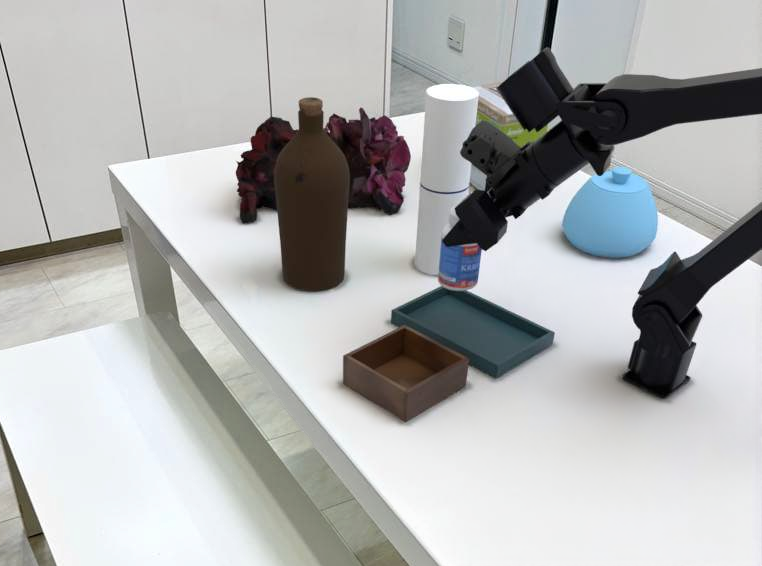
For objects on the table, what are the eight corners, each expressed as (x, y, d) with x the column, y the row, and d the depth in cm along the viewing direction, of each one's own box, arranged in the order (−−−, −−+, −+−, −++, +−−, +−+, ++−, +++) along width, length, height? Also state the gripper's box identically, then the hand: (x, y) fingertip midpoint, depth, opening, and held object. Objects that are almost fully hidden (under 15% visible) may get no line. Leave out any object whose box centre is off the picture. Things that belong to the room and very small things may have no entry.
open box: (465, 386, 111) (469, 358, 108) (405, 422, 105) (407, 393, 102) (402, 352, 116) (404, 324, 113) (342, 383, 111) (342, 355, 108)
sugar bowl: (543, 228, 145) (555, 157, 137) (619, 216, 149) (635, 146, 141) (590, 267, 135) (607, 194, 127) (671, 253, 139) (692, 181, 131)
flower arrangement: (247, 234, 141) (240, 138, 131) (223, 187, 155) (215, 97, 144) (424, 213, 148) (431, 121, 138) (387, 170, 162) (391, 83, 151)
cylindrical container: (407, 268, 134) (417, 95, 116) (426, 250, 138) (439, 80, 121) (449, 279, 131) (466, 104, 114) (467, 260, 136) (486, 89, 119)
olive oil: (355, 290, 129) (359, 111, 111) (285, 297, 127) (278, 117, 109) (339, 257, 136) (340, 85, 118) (273, 264, 134) (264, 90, 116)
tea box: (449, 171, 162) (457, 86, 152) (495, 163, 165) (506, 79, 155) (491, 202, 152) (502, 113, 142) (539, 193, 155) (553, 105, 145)
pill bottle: (462, 296, 114) (469, 224, 107) (429, 283, 116) (434, 212, 110) (485, 281, 117) (494, 210, 110) (453, 269, 119) (459, 199, 113)
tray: (552, 345, 118) (555, 332, 117) (496, 378, 112) (498, 365, 111) (447, 294, 128) (449, 281, 127) (390, 322, 122) (391, 309, 120)
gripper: (532, 81, 105) (441, 159, 117) (480, 128, 93) (384, 210, 104) (583, 158, 108) (490, 227, 120) (539, 214, 96) (440, 284, 107)
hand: (452, 234), depth 113 cm, fingers closed on pill bottle, 5 cm apart
